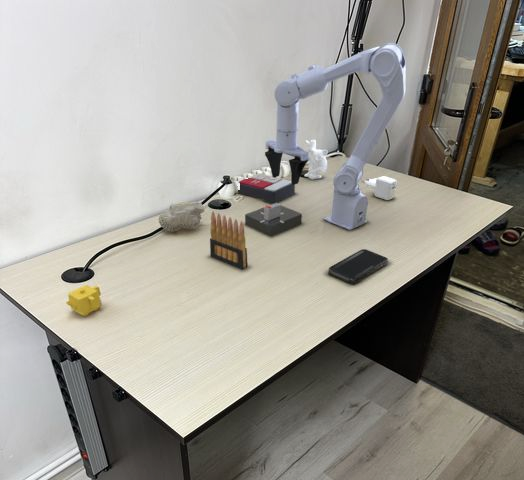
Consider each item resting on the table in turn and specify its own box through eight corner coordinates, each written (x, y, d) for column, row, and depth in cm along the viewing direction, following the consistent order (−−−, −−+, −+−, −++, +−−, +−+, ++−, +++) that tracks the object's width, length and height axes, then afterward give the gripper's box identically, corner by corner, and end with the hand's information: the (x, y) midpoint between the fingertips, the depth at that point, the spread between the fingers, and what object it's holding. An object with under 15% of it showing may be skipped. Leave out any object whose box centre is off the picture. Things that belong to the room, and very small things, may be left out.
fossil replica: (154, 228, 138) (175, 244, 132) (150, 201, 132) (171, 216, 127) (190, 214, 143) (211, 228, 138) (187, 187, 137) (209, 200, 132)
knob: (275, 214, 138) (276, 201, 136) (280, 216, 137) (280, 203, 135) (263, 219, 136) (264, 206, 133) (268, 221, 135) (268, 208, 132)
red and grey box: (258, 171, 163) (295, 179, 155) (258, 184, 165) (295, 193, 158) (236, 180, 156) (273, 189, 148) (237, 194, 159) (274, 204, 151)
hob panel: (303, 224, 140) (303, 214, 138) (271, 238, 133) (272, 227, 131) (275, 212, 146) (275, 202, 144) (244, 225, 140) (243, 214, 138)
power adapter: (358, 192, 159) (360, 173, 156) (367, 188, 162) (369, 170, 158) (387, 202, 153) (390, 183, 150) (396, 197, 156) (399, 179, 152)
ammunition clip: (247, 267, 121) (247, 220, 114) (242, 270, 120) (242, 223, 112) (215, 254, 126) (212, 209, 119) (210, 256, 125) (207, 211, 117)
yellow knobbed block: (80, 324, 102) (75, 303, 99) (64, 314, 105) (57, 294, 101) (112, 307, 107) (107, 287, 104) (95, 298, 110) (90, 278, 106)
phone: (326, 268, 118) (363, 248, 126) (326, 273, 119) (363, 252, 127) (353, 281, 114) (390, 258, 122) (352, 285, 114) (389, 262, 123)
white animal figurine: (298, 177, 170) (300, 140, 162) (310, 172, 174) (312, 136, 166) (318, 183, 165) (321, 145, 158) (330, 178, 169) (333, 141, 162)
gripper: (257, 126, 135) (257, 176, 143) (296, 138, 126) (294, 190, 135) (276, 122, 138) (275, 171, 147) (315, 133, 130) (311, 184, 139)
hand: (285, 180), depth 141 cm, fingers open, 7 cm apart
